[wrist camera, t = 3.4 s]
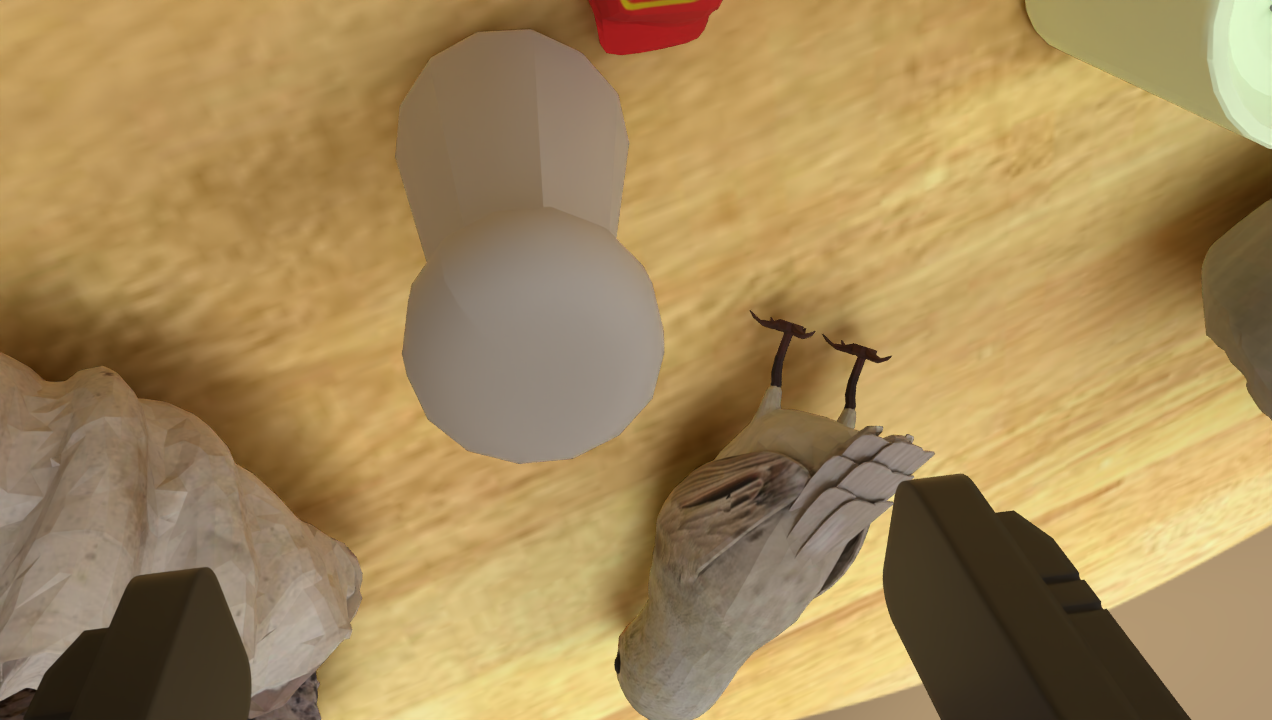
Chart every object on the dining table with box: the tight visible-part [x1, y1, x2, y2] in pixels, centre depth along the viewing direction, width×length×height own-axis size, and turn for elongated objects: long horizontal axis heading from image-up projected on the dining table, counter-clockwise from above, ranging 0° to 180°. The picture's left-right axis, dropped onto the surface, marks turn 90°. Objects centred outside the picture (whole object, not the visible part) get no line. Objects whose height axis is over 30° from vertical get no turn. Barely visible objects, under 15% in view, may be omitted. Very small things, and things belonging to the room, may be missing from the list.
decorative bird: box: [614, 310, 935, 720], centre depth 30 cm, size 5×16×8 cm, turn 156°
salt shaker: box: [395, 29, 664, 464], centre depth 20 cm, size 6×6×13 cm
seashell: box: [0, 352, 362, 719], centre depth 24 cm, size 10×15×10 cm
